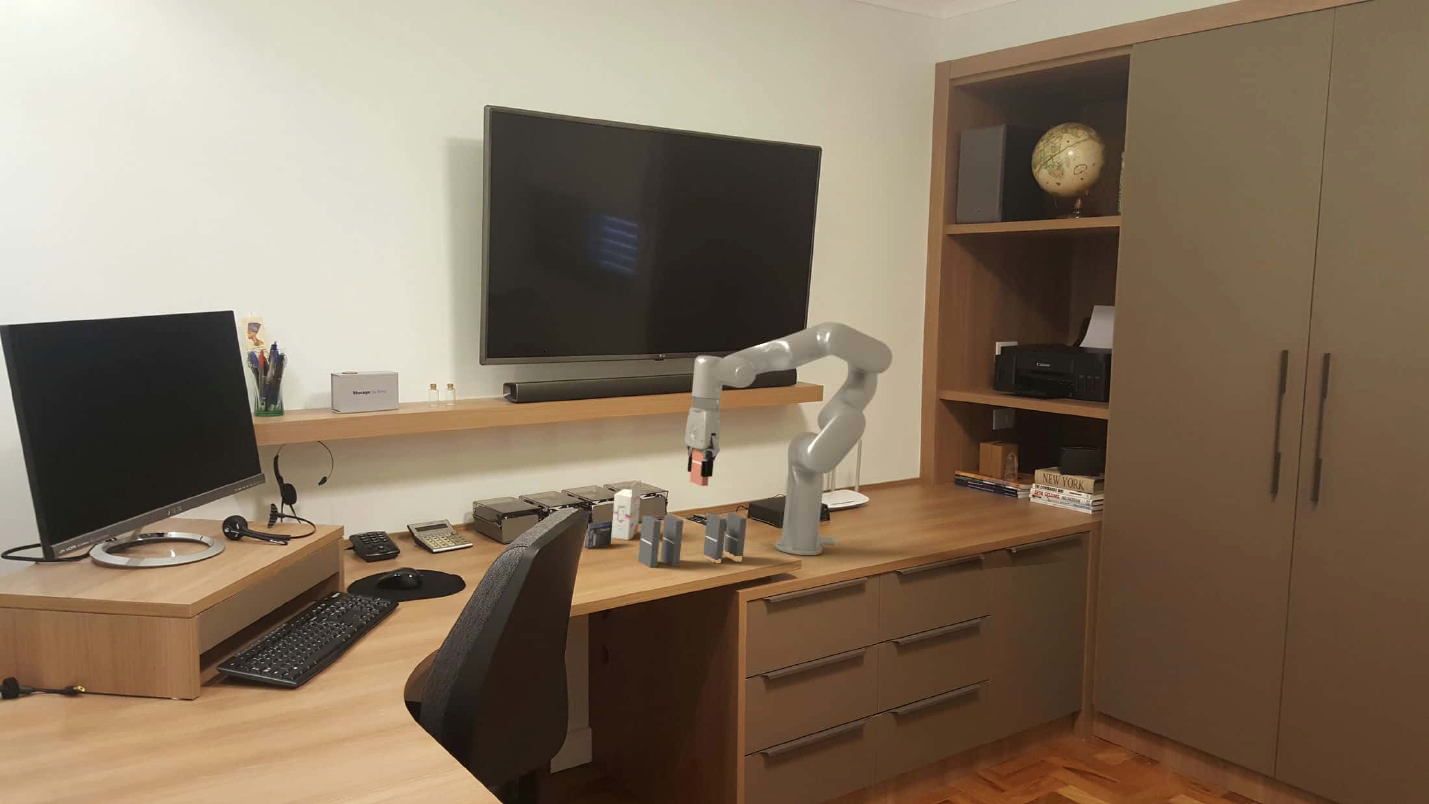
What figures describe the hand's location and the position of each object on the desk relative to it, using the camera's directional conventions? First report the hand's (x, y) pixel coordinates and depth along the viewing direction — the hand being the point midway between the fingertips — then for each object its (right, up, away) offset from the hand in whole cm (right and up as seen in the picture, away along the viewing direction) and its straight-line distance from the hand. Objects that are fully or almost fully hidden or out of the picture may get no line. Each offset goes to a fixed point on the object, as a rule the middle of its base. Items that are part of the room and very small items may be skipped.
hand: (699, 473), depth 259 cm
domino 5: (+8, -21, -7) cm, 24 cm away
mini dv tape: (-25, -18, -7) cm, 32 cm away
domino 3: (0, -3, 0) cm, 3 cm away
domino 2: (-7, -20, -16) cm, 27 cm away
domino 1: (-12, -20, -20) cm, 31 cm away
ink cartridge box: (-20, -17, +6) cm, 27 cm away
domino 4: (+3, -21, -10) cm, 23 cm away
